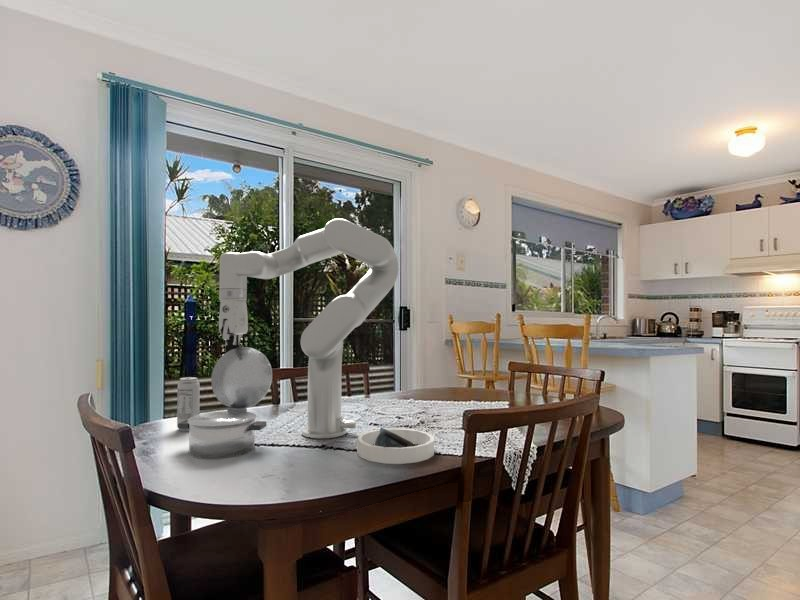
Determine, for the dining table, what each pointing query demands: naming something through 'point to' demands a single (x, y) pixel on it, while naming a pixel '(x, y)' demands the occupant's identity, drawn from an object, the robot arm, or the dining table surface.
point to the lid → (241, 378)
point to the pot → (221, 434)
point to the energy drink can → (187, 399)
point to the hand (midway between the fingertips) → (232, 358)
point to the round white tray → (394, 453)
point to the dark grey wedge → (391, 440)
